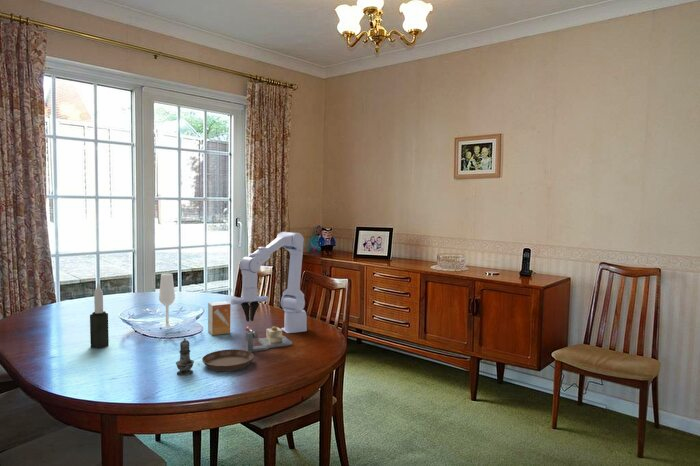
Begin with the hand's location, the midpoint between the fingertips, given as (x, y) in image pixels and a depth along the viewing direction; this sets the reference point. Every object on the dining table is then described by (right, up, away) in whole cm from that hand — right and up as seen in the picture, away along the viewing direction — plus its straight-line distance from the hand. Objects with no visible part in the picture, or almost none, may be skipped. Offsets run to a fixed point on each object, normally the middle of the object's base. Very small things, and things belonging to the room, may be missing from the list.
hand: (249, 320), depth 192 cm
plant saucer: (-3, -12, -21) cm, 25 cm away
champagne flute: (-41, -7, +23) cm, 48 cm away
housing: (+9, -9, +3) cm, 13 cm away
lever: (+1, -5, -2) cm, 6 cm away
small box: (-17, -8, +17) cm, 25 cm away
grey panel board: (+7, -10, +1) cm, 12 cm away
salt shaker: (-15, -12, -30) cm, 36 cm away
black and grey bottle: (-57, -9, -5) cm, 58 cm away
